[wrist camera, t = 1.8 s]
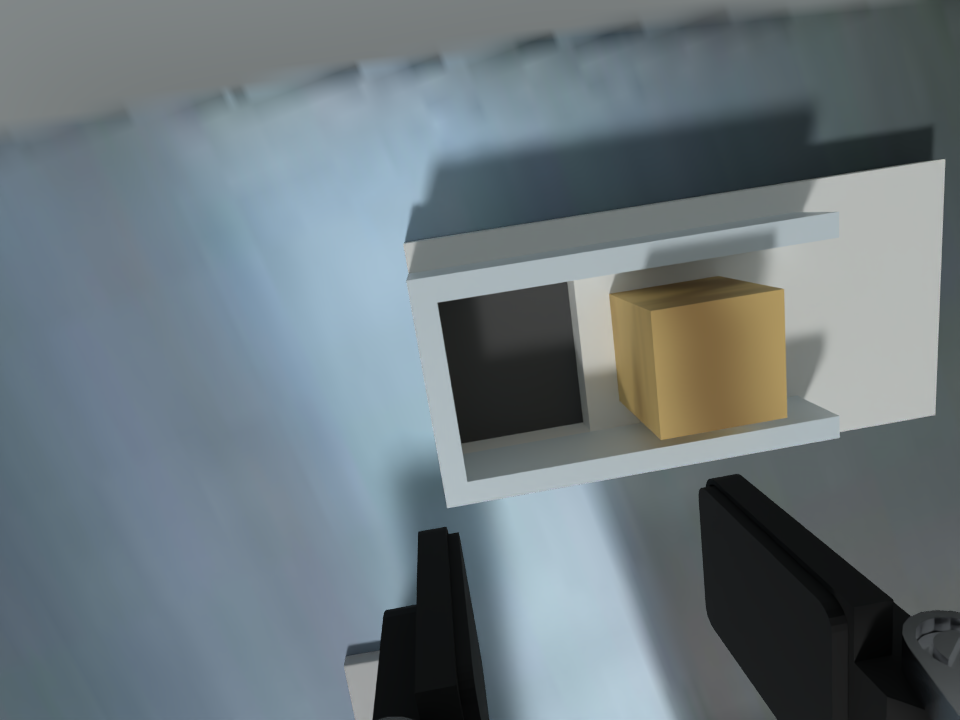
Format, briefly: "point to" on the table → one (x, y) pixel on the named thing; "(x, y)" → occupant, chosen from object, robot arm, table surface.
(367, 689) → the test tube rack
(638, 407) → the block
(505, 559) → the table surface
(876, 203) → the channel
